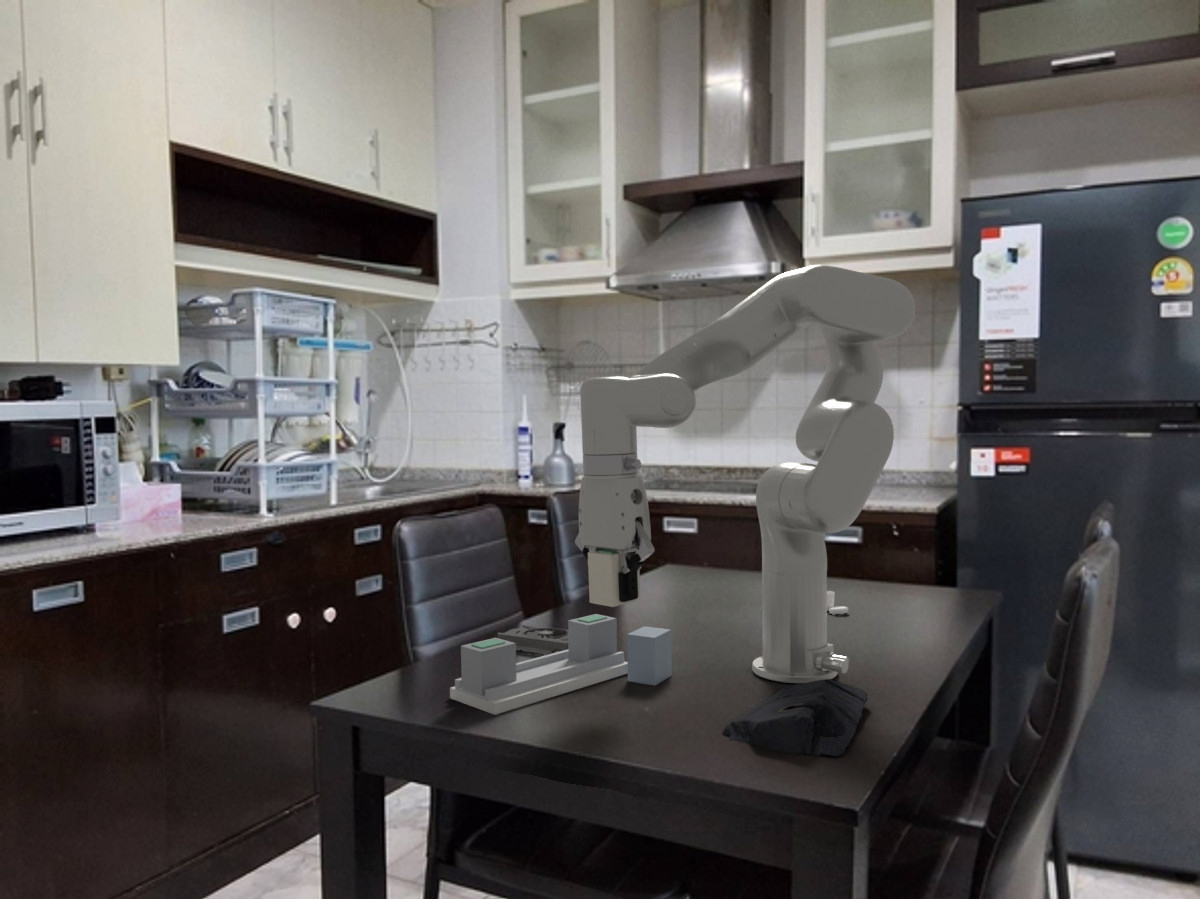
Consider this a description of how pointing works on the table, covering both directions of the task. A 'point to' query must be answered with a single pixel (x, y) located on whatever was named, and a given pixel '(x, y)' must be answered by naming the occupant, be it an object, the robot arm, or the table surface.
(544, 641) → the graphics card
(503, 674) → the mounted module
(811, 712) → the black folded cloth
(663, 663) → the block
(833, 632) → the table surface
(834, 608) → the white rounded block
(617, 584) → the block
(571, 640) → the mounted module
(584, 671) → the rail base
